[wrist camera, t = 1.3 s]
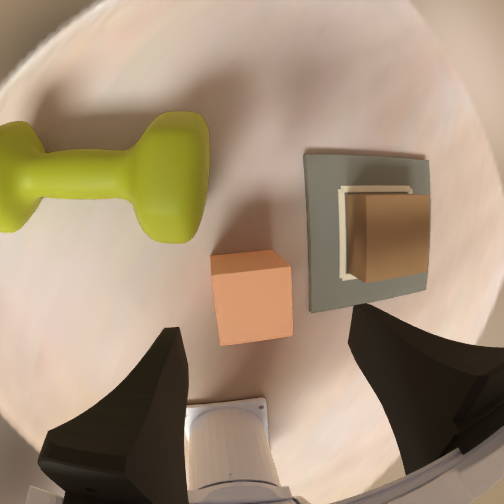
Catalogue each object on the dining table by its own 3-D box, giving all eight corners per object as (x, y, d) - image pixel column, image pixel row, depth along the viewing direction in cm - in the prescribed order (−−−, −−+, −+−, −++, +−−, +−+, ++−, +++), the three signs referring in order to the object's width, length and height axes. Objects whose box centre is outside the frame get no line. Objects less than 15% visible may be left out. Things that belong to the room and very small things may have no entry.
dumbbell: (215, 127, 19) (219, 95, 12) (203, 238, 20) (201, 262, 13) (23, 129, 16) (-30, 115, 9) (15, 225, 18) (-40, 239, 11)
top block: (275, 306, 22) (292, 335, 17) (217, 313, 22) (220, 345, 17) (272, 249, 21) (290, 266, 16) (210, 255, 21) (211, 275, 16)
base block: (405, 263, 23) (426, 271, 20) (346, 271, 22) (365, 283, 19) (406, 193, 21) (429, 195, 18) (345, 194, 21) (366, 195, 18)
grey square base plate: (422, 287, 24) (426, 290, 24) (309, 310, 23) (311, 313, 22) (424, 160, 22) (429, 160, 21) (303, 155, 20) (306, 154, 19)
